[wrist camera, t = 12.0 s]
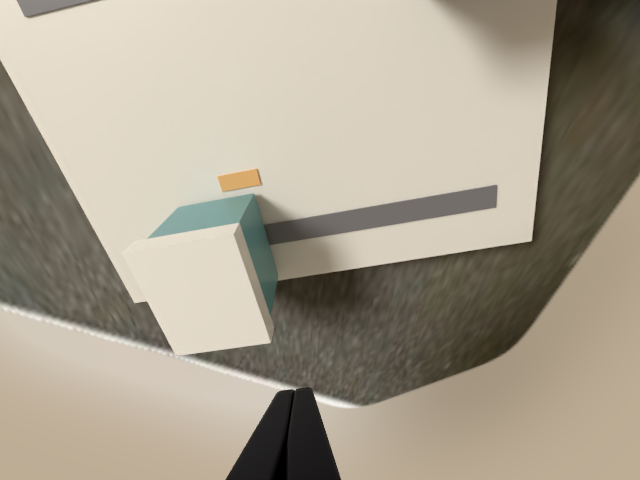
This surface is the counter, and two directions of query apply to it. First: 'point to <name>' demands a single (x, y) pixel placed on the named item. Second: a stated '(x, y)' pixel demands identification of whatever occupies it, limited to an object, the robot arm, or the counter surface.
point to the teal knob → (209, 275)
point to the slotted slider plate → (294, 118)
